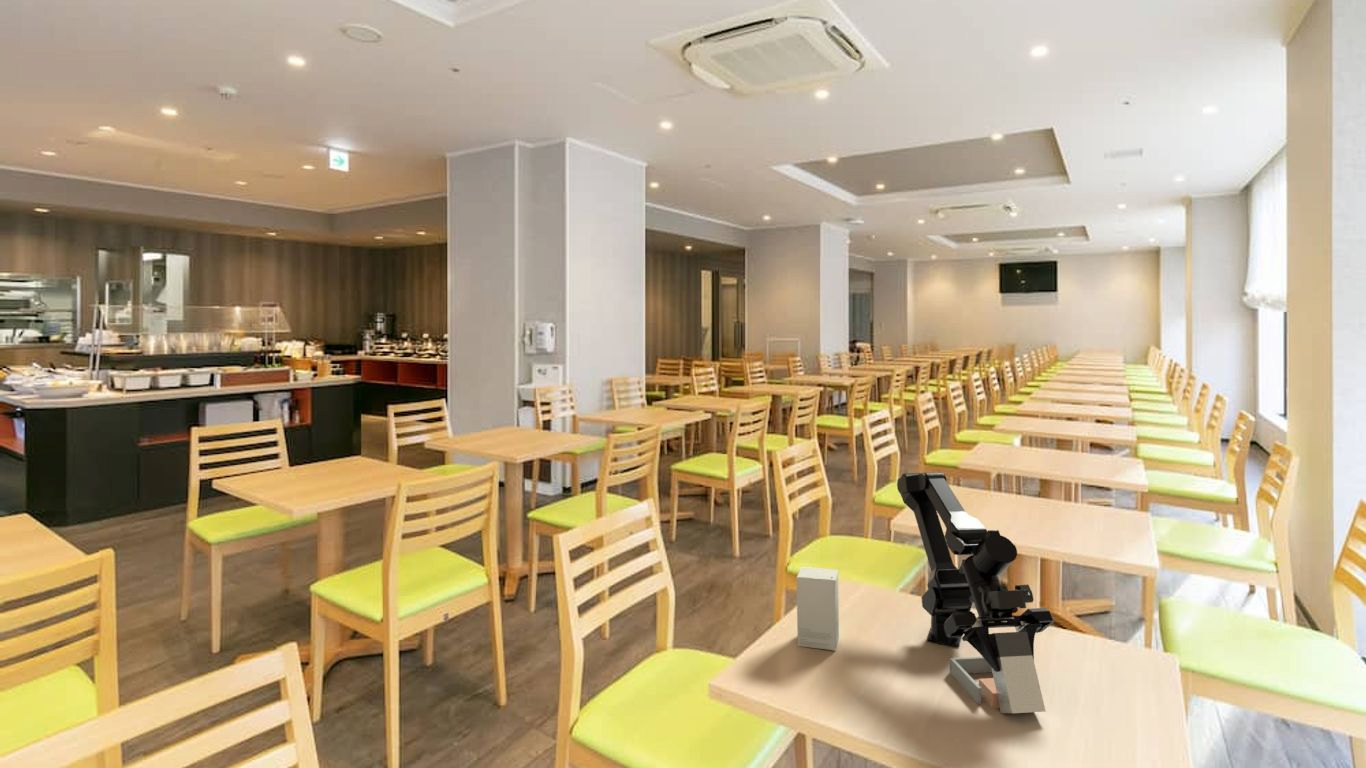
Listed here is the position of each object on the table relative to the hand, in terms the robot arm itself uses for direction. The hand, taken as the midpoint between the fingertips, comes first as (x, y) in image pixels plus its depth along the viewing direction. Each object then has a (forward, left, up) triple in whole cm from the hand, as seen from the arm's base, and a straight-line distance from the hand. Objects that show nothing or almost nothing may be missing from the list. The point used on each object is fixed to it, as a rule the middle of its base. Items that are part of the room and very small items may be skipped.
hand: (1014, 670), depth 124 cm
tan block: (-2, -2, -7) cm, 8 cm away
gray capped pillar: (+2, +2, -6) cm, 7 cm away
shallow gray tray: (-6, -4, -7) cm, 10 cm away
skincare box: (-9, -38, -7) cm, 40 cm away
